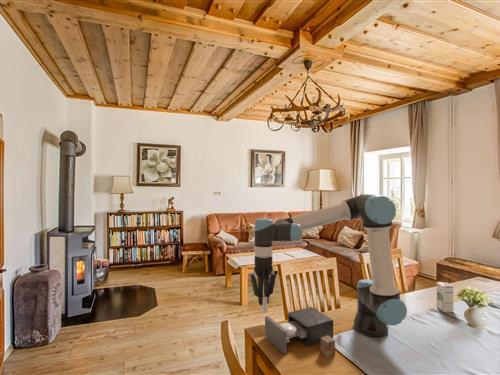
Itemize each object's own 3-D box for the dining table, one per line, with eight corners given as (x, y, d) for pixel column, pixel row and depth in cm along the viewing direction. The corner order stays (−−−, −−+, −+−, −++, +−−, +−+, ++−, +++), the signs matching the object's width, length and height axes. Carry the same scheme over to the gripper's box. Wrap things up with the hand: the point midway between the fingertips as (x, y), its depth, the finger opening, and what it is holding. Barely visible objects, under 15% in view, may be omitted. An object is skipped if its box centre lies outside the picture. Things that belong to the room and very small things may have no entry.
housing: (311, 324, 138) (311, 306, 138) (333, 338, 124) (333, 319, 124) (288, 330, 131) (288, 312, 131) (308, 346, 118) (308, 326, 118)
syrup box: (454, 312, 151) (454, 285, 151) (443, 312, 151) (443, 285, 151) (446, 307, 156) (446, 281, 156) (436, 307, 156) (436, 281, 156)
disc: (274, 329, 124) (274, 325, 124) (289, 325, 128) (289, 321, 128) (284, 338, 117) (284, 333, 117) (300, 334, 120) (300, 329, 120)
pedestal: (328, 349, 116) (328, 335, 116) (335, 355, 112) (335, 340, 112) (320, 352, 114) (320, 337, 114) (327, 357, 110) (327, 342, 110)
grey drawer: (292, 328, 133) (292, 310, 133) (312, 344, 119) (312, 323, 119) (264, 336, 126) (264, 316, 126) (283, 353, 112) (283, 332, 112)
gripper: (272, 252, 123) (272, 305, 123) (245, 255, 117) (245, 311, 117) (281, 255, 117) (281, 312, 117) (253, 259, 111) (253, 318, 111)
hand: (263, 311), depth 117 cm, fingers closed
